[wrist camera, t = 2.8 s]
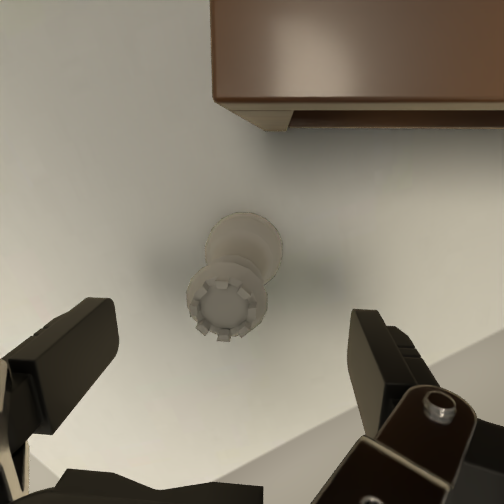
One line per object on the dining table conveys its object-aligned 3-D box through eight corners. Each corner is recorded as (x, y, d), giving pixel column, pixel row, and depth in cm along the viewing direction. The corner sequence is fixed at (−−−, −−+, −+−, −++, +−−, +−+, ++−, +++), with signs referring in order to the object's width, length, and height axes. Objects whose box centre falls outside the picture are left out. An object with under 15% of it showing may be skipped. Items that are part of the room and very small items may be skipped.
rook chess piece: (273, 289, 21) (268, 374, 13) (203, 273, 21) (157, 349, 13) (291, 219, 19) (296, 270, 12) (214, 202, 19) (170, 242, 12)
